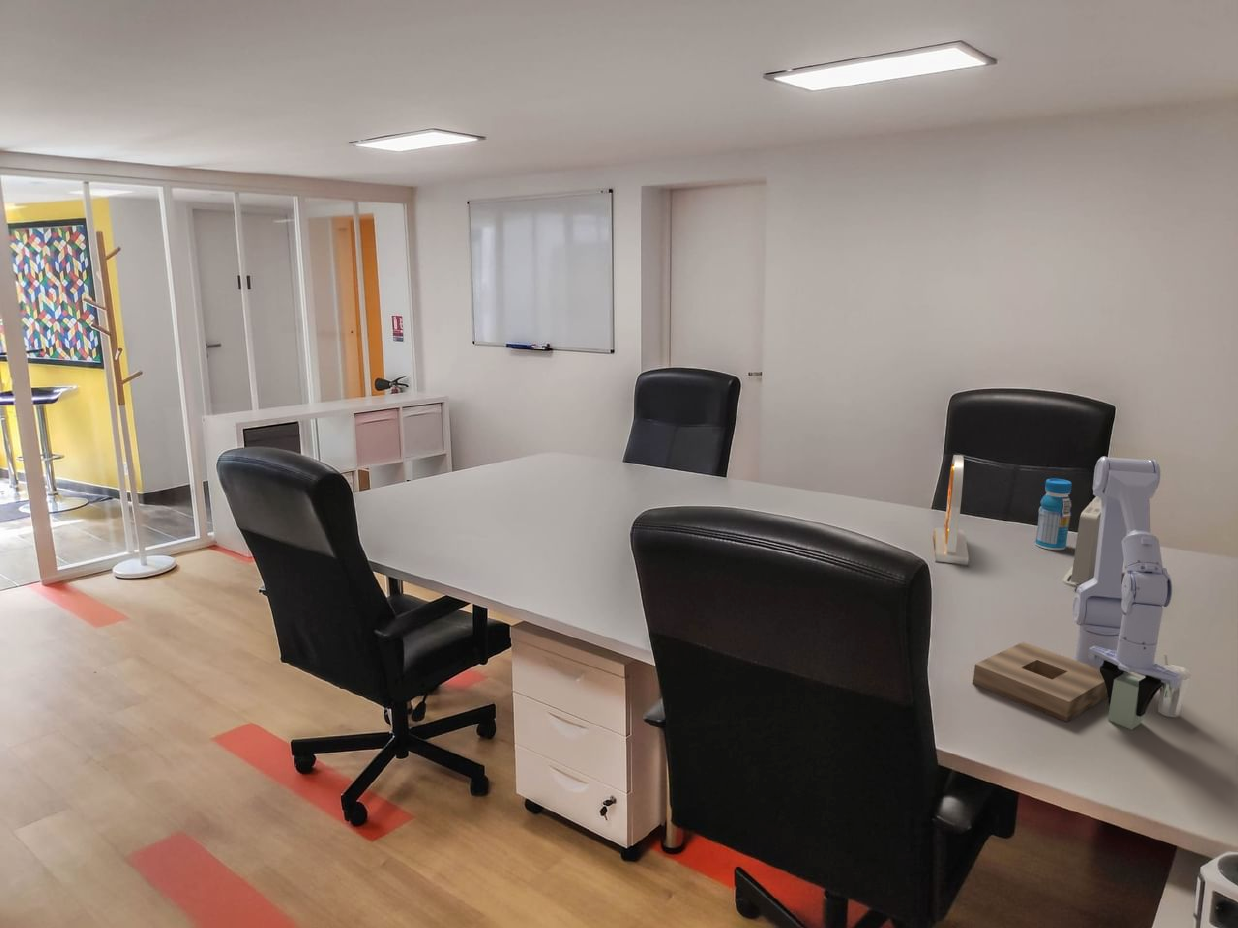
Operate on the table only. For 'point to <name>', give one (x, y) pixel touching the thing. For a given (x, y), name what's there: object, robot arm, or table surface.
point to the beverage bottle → (1054, 515)
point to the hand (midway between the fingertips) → (1126, 709)
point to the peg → (1125, 701)
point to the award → (952, 521)
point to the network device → (1085, 545)
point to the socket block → (1042, 680)
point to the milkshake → (1172, 692)
